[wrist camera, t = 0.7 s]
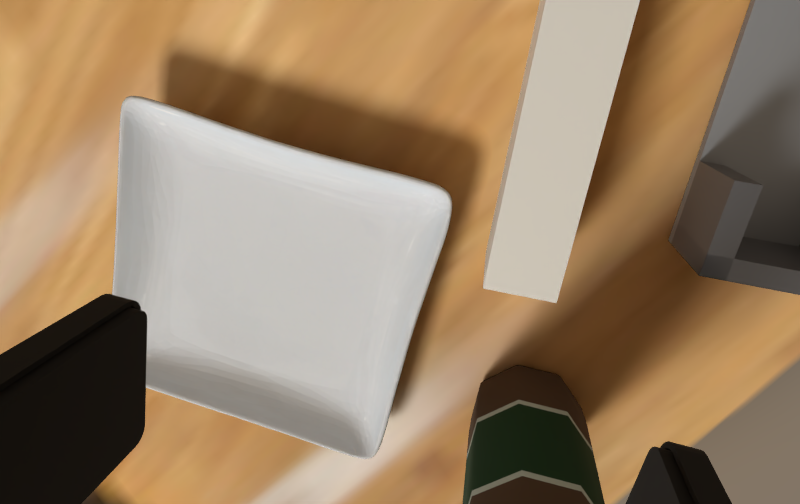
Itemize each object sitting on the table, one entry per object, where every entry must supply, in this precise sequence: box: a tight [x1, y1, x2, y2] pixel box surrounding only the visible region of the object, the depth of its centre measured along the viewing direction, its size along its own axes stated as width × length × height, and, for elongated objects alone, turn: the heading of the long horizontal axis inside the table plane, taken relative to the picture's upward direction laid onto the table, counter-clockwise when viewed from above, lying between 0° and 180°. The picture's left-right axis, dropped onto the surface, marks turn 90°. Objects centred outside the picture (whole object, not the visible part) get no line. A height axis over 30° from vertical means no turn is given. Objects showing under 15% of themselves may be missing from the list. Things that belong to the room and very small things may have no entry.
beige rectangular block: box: [483, 0, 640, 303], centre depth 30 cm, size 16×4×6 cm, turn 172°
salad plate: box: [112, 96, 452, 459], centre depth 38 cm, size 21×21×3 cm
